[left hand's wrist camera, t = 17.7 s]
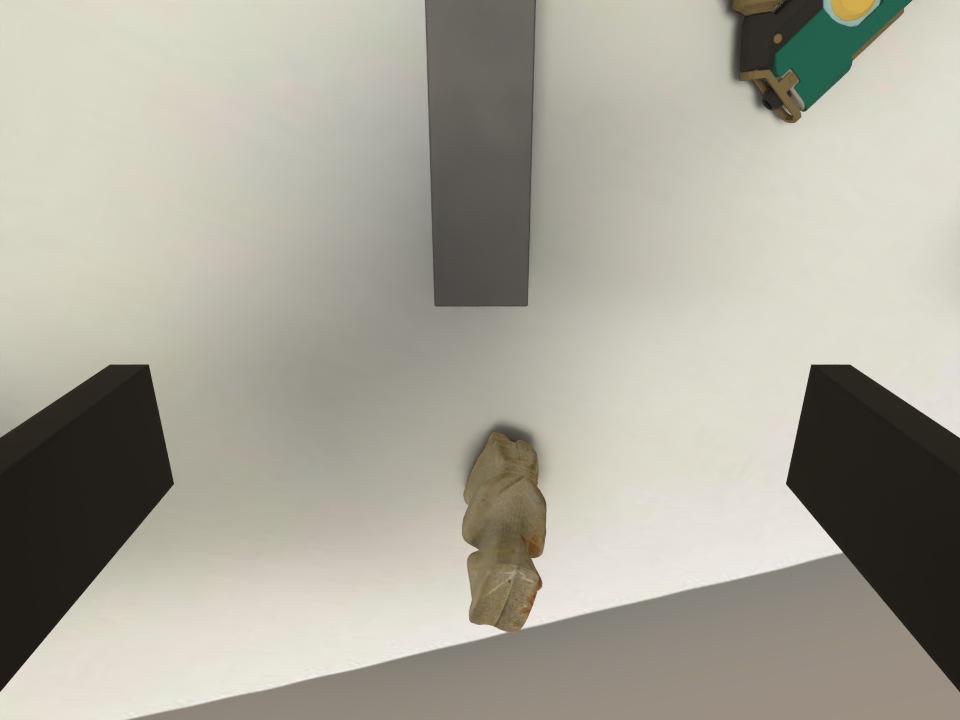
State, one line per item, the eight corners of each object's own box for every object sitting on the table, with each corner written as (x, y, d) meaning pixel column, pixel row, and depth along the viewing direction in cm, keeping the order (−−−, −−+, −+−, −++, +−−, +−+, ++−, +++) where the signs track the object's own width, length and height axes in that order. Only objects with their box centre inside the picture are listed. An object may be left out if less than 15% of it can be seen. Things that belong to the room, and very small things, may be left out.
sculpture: (451, 486, 51) (440, 624, 37) (484, 414, 49) (485, 533, 35) (515, 509, 52) (528, 652, 38) (551, 439, 50) (578, 565, 36)
